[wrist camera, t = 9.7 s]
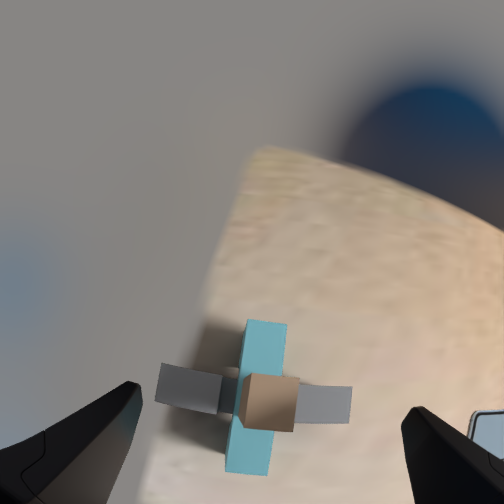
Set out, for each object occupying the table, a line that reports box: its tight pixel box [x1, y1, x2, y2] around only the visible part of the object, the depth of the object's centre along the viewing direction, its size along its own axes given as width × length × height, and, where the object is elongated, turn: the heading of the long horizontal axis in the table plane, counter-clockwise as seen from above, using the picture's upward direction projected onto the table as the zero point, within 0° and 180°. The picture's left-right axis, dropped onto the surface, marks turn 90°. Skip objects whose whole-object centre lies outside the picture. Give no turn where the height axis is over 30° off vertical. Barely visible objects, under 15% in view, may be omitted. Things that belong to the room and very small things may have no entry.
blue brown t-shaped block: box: [225, 319, 300, 476], centre depth 15 cm, size 10×2×10 cm, turn 172°
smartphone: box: [468, 410, 504, 461], centre depth 16 cm, size 7×1×15 cm
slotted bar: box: [155, 363, 352, 424], centre depth 17 cm, size 12×2×5 cm, turn 82°
